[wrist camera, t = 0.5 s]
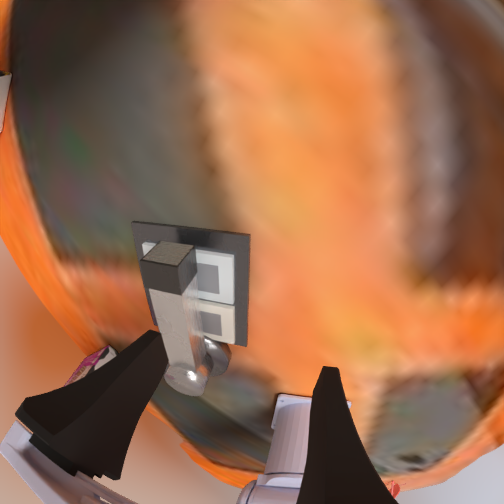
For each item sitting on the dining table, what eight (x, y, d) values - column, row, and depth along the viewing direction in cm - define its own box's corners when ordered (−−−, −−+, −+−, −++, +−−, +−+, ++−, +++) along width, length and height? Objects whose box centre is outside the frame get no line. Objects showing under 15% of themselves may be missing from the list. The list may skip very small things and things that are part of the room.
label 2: (235, 340, 22) (233, 344, 22) (162, 323, 24) (160, 327, 23) (234, 306, 20) (232, 310, 20) (154, 289, 22) (151, 293, 21)
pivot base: (232, 372, 25) (228, 381, 24) (177, 358, 26) (173, 367, 25) (230, 333, 22) (226, 343, 21) (167, 319, 23) (161, 327, 22)
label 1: (234, 301, 20) (232, 305, 20) (153, 284, 21) (150, 288, 21) (234, 254, 18) (232, 258, 18) (144, 241, 19) (141, 244, 19)
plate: (247, 344, 23) (246, 346, 22) (155, 322, 24) (154, 325, 24) (250, 234, 17) (249, 236, 17) (133, 220, 19) (131, 222, 19)
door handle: (215, 374, 24) (205, 400, 21) (180, 365, 24) (168, 389, 22) (202, 246, 17) (182, 272, 14) (153, 239, 17) (129, 262, 15)
